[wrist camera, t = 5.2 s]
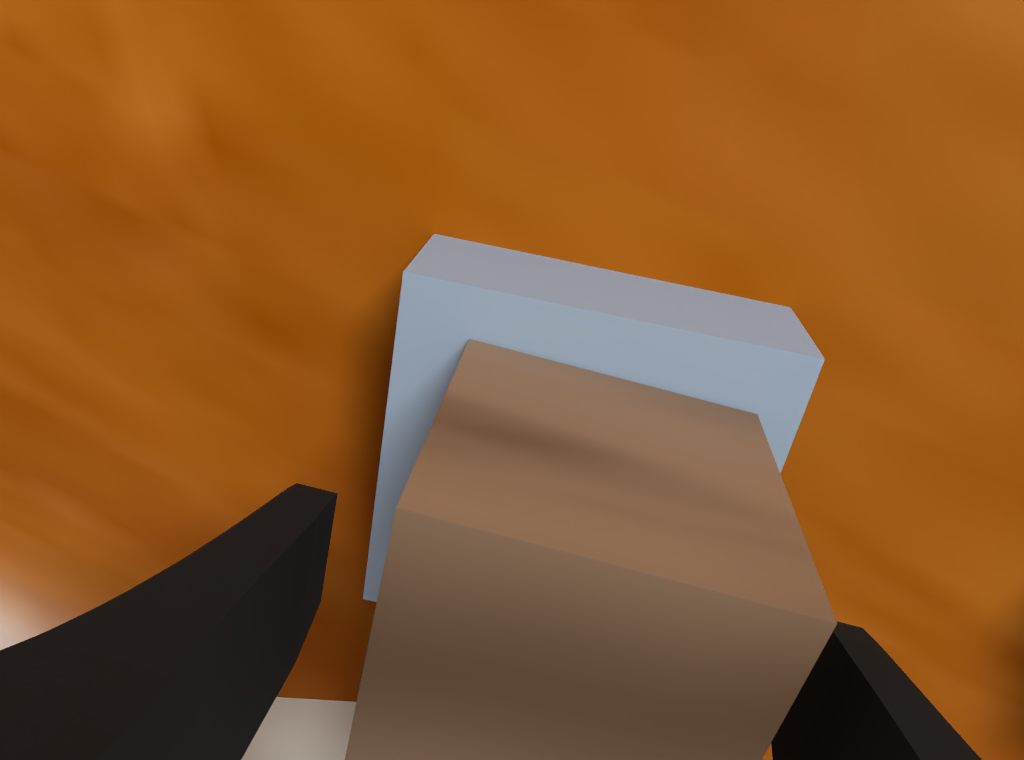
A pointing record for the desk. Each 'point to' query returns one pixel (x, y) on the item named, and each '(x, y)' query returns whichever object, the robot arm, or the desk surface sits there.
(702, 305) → the blue slab
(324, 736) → the cream cube
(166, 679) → the robot arm
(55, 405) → the desk surface
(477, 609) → the walnut cube
